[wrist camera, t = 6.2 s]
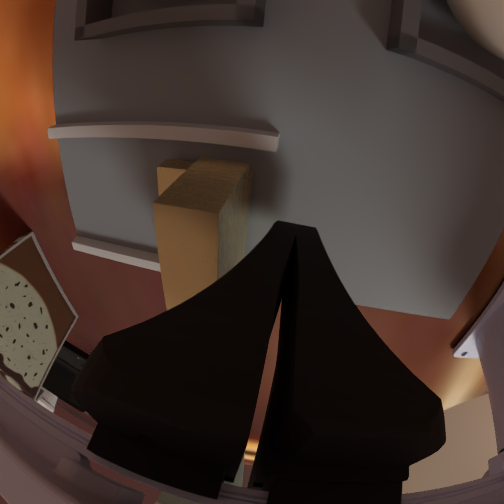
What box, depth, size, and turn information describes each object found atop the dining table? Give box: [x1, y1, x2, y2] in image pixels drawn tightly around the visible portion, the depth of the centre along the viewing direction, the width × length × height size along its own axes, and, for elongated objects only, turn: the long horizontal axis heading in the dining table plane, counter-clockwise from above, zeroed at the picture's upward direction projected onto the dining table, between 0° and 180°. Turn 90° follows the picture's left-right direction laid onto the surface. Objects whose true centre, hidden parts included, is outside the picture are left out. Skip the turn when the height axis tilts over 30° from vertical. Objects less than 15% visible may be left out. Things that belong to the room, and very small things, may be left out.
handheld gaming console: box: [42, 341, 89, 412], centre depth 29 cm, size 12×7×10 cm
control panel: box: [47, 0, 504, 319], centre depth 8 cm, size 20×17×4 cm
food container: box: [0, 231, 79, 402], centre depth 17 cm, size 12×6×10 cm, turn 6°
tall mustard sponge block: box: [153, 157, 253, 310], centre depth 9 cm, size 3×5×4 cm, turn 175°
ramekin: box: [37, 387, 57, 412], centre depth 47 cm, size 11×11×5 cm
